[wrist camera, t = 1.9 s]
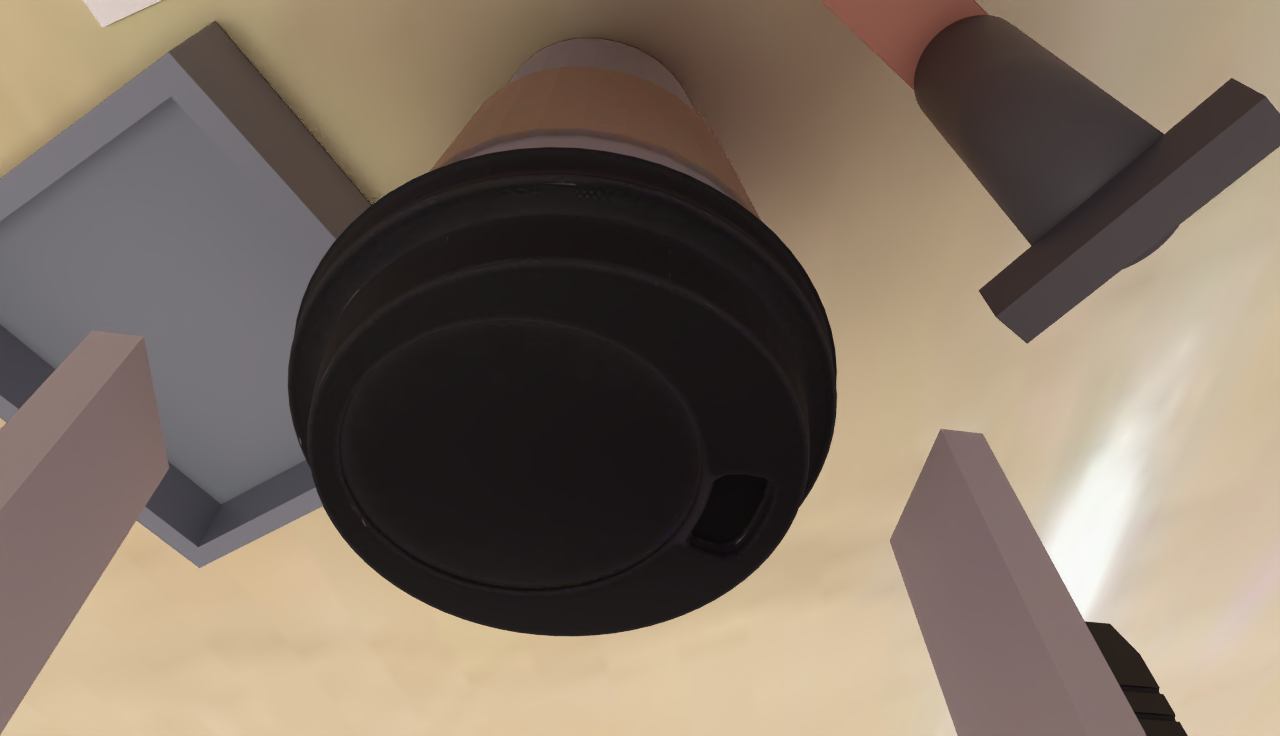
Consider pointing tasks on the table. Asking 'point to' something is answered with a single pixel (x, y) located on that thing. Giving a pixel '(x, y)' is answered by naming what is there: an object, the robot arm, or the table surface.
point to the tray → (181, 277)
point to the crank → (1059, 148)
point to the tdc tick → (115, 9)
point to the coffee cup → (565, 362)
